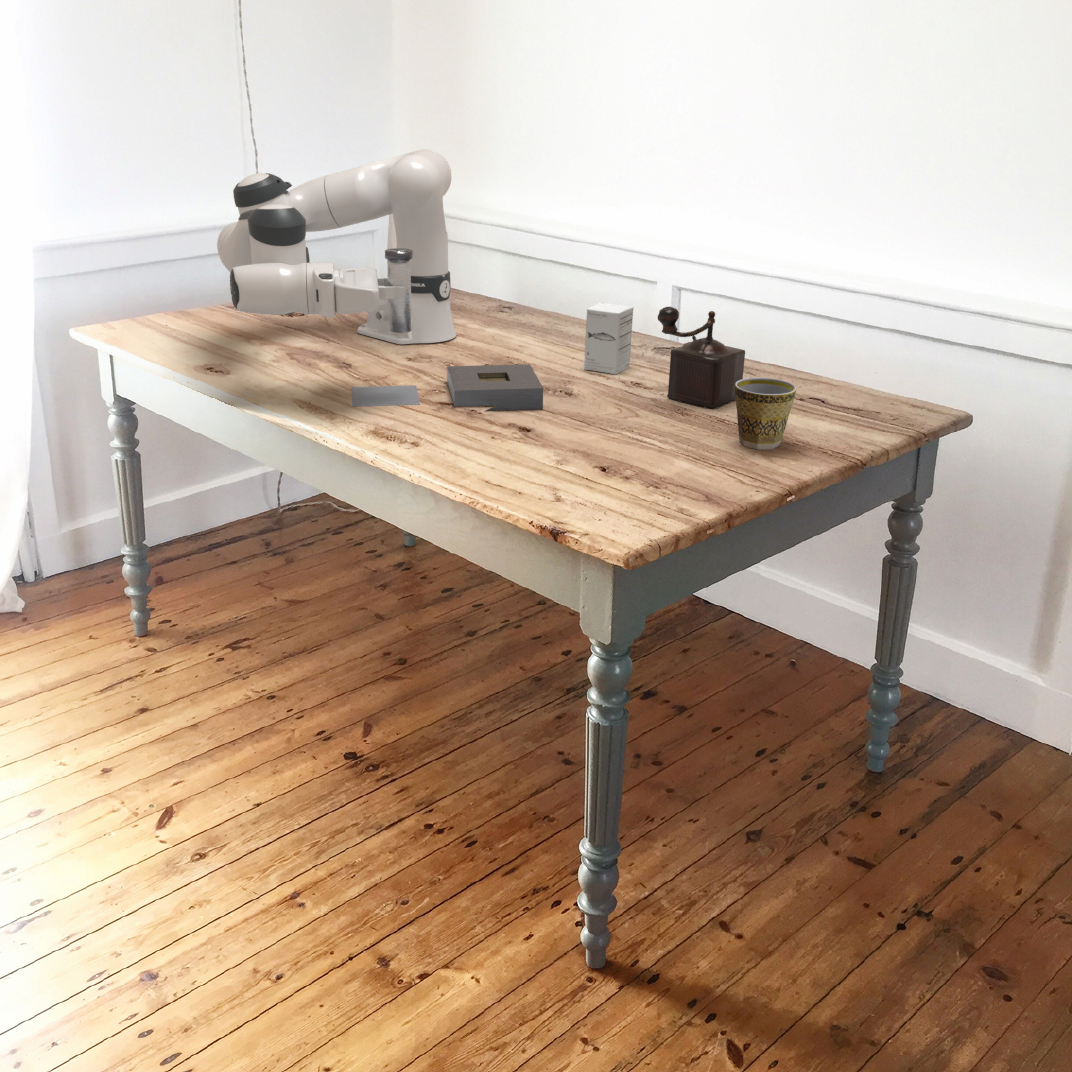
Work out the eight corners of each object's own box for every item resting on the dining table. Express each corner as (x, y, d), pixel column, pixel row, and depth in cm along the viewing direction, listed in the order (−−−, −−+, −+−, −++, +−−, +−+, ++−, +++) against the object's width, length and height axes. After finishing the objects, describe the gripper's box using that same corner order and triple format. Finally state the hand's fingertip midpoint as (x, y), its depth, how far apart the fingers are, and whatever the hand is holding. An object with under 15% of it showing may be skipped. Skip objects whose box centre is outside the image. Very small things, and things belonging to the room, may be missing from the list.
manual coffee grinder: (693, 386, 223) (700, 293, 216) (742, 397, 217) (751, 303, 210) (647, 403, 212) (653, 307, 205) (697, 416, 206) (705, 317, 199)
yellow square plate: (481, 391, 210) (481, 386, 210) (478, 383, 215) (478, 378, 215) (508, 390, 211) (508, 385, 211) (505, 383, 216) (505, 378, 215)
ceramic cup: (797, 452, 189) (804, 394, 185) (738, 453, 188) (743, 395, 184) (774, 427, 201) (780, 372, 197) (718, 428, 200) (723, 372, 196)
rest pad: (352, 411, 205) (352, 406, 204) (352, 392, 215) (351, 387, 215) (420, 409, 206) (420, 404, 206) (416, 390, 217) (416, 385, 217)
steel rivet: (381, 330, 205) (379, 251, 199) (398, 325, 208) (396, 247, 203) (402, 334, 202) (401, 254, 197) (419, 329, 206) (418, 250, 200)
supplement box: (582, 370, 232) (585, 308, 227) (598, 362, 238) (600, 301, 233) (616, 375, 229) (619, 312, 224) (631, 367, 235) (634, 305, 230)
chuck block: (454, 412, 206) (454, 390, 204) (447, 386, 220) (446, 366, 218) (542, 409, 208) (543, 388, 206) (529, 384, 222) (530, 364, 221)
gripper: (326, 293, 211) (402, 293, 213) (324, 319, 193) (407, 319, 195) (325, 259, 209) (401, 258, 211) (322, 282, 190) (406, 281, 192)
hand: (404, 288), depth 202 cm, fingers closed on steel rivet, 4 cm apart
